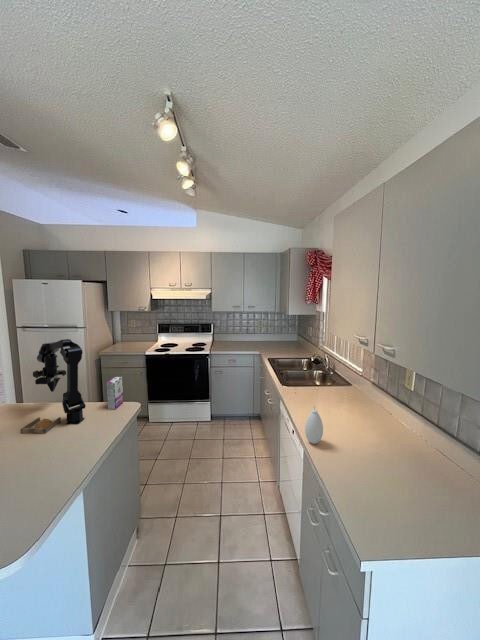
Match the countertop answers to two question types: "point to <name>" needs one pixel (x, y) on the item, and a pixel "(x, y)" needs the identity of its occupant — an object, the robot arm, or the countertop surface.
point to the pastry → (43, 423)
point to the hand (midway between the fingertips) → (52, 391)
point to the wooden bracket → (39, 430)
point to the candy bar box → (115, 392)
